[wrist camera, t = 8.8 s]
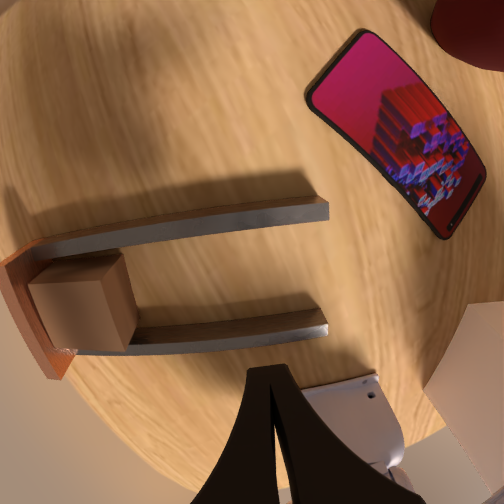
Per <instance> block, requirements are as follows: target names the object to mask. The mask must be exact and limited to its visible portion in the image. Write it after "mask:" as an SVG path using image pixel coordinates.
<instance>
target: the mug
mask: <svg viewBox="0 0 504 504" xmlns="http://www.w3.org/2000/svg"><path fill="white" fill-rule="evenodd" d="M431 29H432V32H433V35H434V37H435V39H436V40H437V42H438V43H439V45H440V46H441V47H442V48H443V49H444V50H445V51H446V52H447V53H448V54H449V55H451V56H453V57H455V58H457V59H459V60H461V61H464V62H466V63H468V64H470V65H473V66H475V67H478V68H481V69H486V70H492V71H500V72H504V0H437V2H436V4H435V7H434V10H433V14H432V17H431Z"/></svg>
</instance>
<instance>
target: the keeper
mask: <svg viewBox="0 0 504 504" xmlns="http://www.w3.org/2000/svg"><path fill="white" fill-rule="evenodd" d="M28 287H29V290H30V292H31V295H32V298H33V300H34V303H35V305H36V308H37V310H38V312H39V315H40V317H41V319H42V322H43V324H44V326H45V328H46V330H47V333H48V335H49V337H50V339H51V341H52V343H53V345H54V347H56V348H66V349H79V350H95V351H118V352H125V351H126V349H127V347H128V344H129V342H130V340H131V338H132V335H133V333H134V331H135V329H136V326H137V324H138V322H139V320H140V315H139V311H138V308H137V305H136V301H135V298H134V294H133V291H132V287H131V283H130V280H129V276H128V272H127V268H126V264H125V260H124V255H123V254H118V255H108V256H98V257H88V258H78V259H68V260H58V261H55V262H53V263H52V264H51V265H50V266H49V267H47V268H46V269H45V270H44V271H43V272H41V273H40V274H39V275H38V276H37V277H36V278H34V279H33V280H32V281H31V282H30V283H29V284H28Z"/></svg>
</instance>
